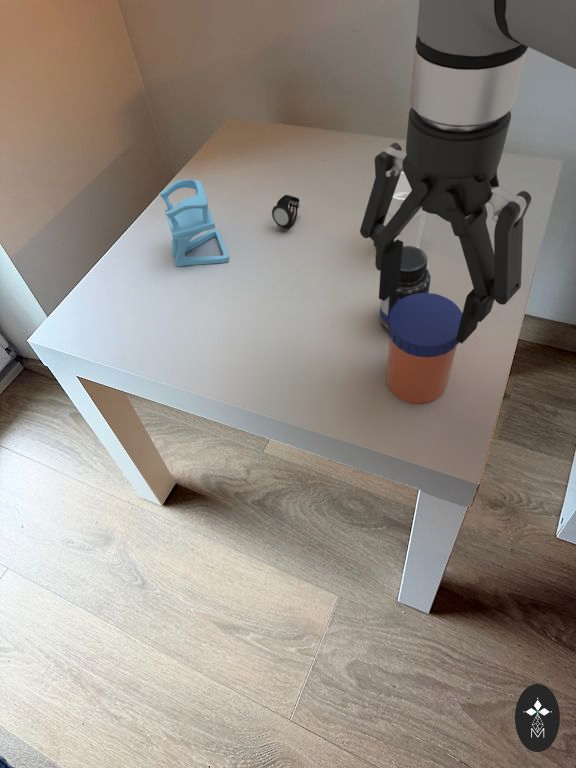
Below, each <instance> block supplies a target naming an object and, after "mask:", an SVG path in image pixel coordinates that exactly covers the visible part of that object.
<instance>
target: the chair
mask: <svg viewBox="0 0 576 768" xmlns="http://www.w3.org/2000/svg"><path fill="white" fill-rule="evenodd" d="M184 188H185V189H186V188H188V189H193V190H195V195H192V196H190V197H186V198H184V199H182V200H181V201H179V202H177V204H175V205H174V206H173V204H172V201H171V200H170V199H169V197H170V196H171V195H172V194H173V193H174V192H175V191H177V190H180V189H184ZM158 195H159V196H160V197H161V198H162V199H163V201H164V202H165V205H166V208H167V209H165V210H164V214H165V216H166V219H167V223H168V226H169V230H170V233H171V236H172V245H171V252H172V256H173V257H174V263H175V266H176V267H183V266H184V267H185V266H196V265H211V264H225V263H229V262H230V256H229V254H228V251H227V248H226V246H225V243H224V241H223V238H222V235H221V233H220V231H219V229H217V228H216V224H215V221H214V218H213V216H212V214H211V211H210V209H209V206H208V205H209V203H208V198H207V195H206V191H205V189H204V186H203V183H202V181H201V180H199V179H178V180H176V181H174V182H173V183H171V184H170V185H169V186H168V187H166V189H163V190H162V191H160V192H159V193H158ZM206 231H207V232H206ZM203 232H205V233H203ZM201 233H203V234H201ZM199 234H201V235H200V236H198V237H196V238H194V237H195V236H197V235H199ZM215 237H216V240H217V242H218V245H219V247H220V250H221V252H222V255H206V256H203V255H202V256H185V254H186V253H188V252H191V250H193V249H196V247H199V246H200V245H203V244H204V243H205V242H207V241H209V240H210V239H213V238H215ZM193 238H194V239H193ZM191 239H192V240H191Z"/></svg>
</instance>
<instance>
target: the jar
mask: <svg viewBox="0 0 576 768" xmlns="http://www.w3.org/2000/svg"><path fill="white" fill-rule="evenodd" d="M457 347H458V344H457V345H456V346H455V347H454V348H453V350H451V351H449V352H447V353H446V354H443V355H440V356H437V357H427V358H426V357H418V356H414V355H411V354H407V353H406V352H404V351H402V350H401V349H399V348H398V347H397V346H396V345H395V344H394V343H393V341H392V340H391V338H390V336H389V338H388V350H387V361H386V362H387V363H386V374H385V381H386V384H387V387H388V389H389V390H390V392H391V393H392V394H393V395H394V396H396V397H397V398H398V399H400V400H402V401H404V402H407V403H410V404H427V403H431V402H434V401H436V400H437V399H439V398H440V397H441V396H442V395H443V394H444V393H445V391H446V389H447V387H448V383H449V379H450V376H451V371H452V367H453V363H454V358H455V354H456V350H457Z"/></svg>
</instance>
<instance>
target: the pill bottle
mask: <svg viewBox="0 0 576 768" xmlns="http://www.w3.org/2000/svg"><path fill="white" fill-rule="evenodd" d="M427 267H428V256H427V254H426V252H425V251H424V250H423V249H421V248H420V249H419V248H417V247H413V246H403V250H402V260H401V270H400V279H399V288H398V289H397V290H396V291H394V292H393V293H392V294H391V295H390V296H389V297H388V298H387V299H386V300H385V301H383V300H381V299H379V317H378V318H379V322H380V325H381V327H383V329H385V330H386V331H387V332H389V329H388V321H389V315H390V312H391V310H392V308H393V306H394V305H395V304H396V303H397V302H398V301H399V300H401V299H402V298H404V297H406V296H409V295H412V294H417V293H430V286H431V277H432V276H431V273H430V271H429V269H428V268H427Z"/></svg>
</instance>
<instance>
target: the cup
mask: <svg viewBox="0 0 576 768" xmlns="http://www.w3.org/2000/svg"><path fill="white" fill-rule="evenodd" d="M411 191H412V189H411V187H410V185H409V182H408V180H407V178H406V176H405V173H404V171H402V172H401V174H400V178H399V181H398V183H397V186H396V189H395V192H394V195H393V198H392V201H391V204H390V207H389V210H388V212H387V215H386V218H385V221H384V226H386V225H387V224H388V222H389V221H390V220H391V218H392V217H393V216H394V215H395V213H396V212H397V211H398V209H399V208H400V207H401V206H400V205H401V204H402V203H403V201H404V200H405V199H406V197H407V196H408V195H409V194H410V192H411ZM426 218H427V212H425V211H423V210H422V207H421V208H420V209H419V211H418V212H417V213H416V214H415V215H414V217H413V218H412V219H411V220H410V221H409V223H408V224H407V225H406V226H405V227H404V229H403V230H402V231H401V232H400V234H399V235H398V236H397V237H396V238H395V239H394V242H395V241H396V240H397V239H398V240H400V241H402V242H403V246H413V247H417V248H419V249H421V243H422V238H423V232H424V227H425V222H426Z"/></svg>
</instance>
